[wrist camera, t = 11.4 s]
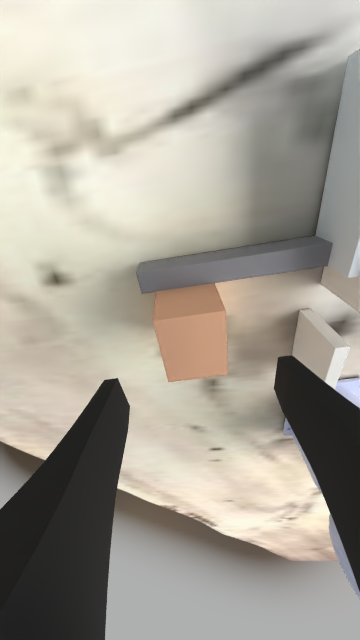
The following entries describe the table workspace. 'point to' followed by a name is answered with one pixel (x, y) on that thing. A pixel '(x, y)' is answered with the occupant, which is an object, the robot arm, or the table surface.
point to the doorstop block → (191, 332)
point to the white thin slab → (325, 331)
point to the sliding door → (295, 254)
